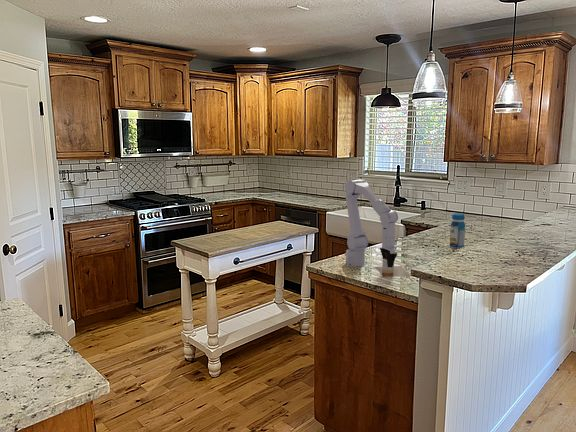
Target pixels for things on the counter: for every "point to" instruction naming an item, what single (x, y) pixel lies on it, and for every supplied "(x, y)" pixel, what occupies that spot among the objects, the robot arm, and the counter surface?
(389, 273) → the jar
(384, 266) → the cap
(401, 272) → the board
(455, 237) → the beverage bottle
